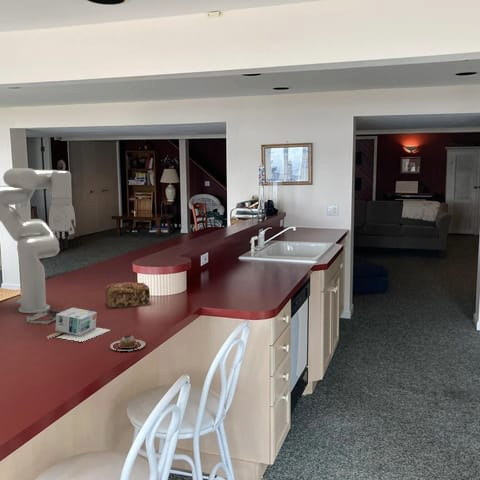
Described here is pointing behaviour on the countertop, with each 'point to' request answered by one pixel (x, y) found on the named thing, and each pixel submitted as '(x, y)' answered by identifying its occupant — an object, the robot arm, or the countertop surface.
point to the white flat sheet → (85, 335)
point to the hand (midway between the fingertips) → (63, 248)
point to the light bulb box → (75, 321)
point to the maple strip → (54, 334)
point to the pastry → (128, 343)
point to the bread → (127, 294)
